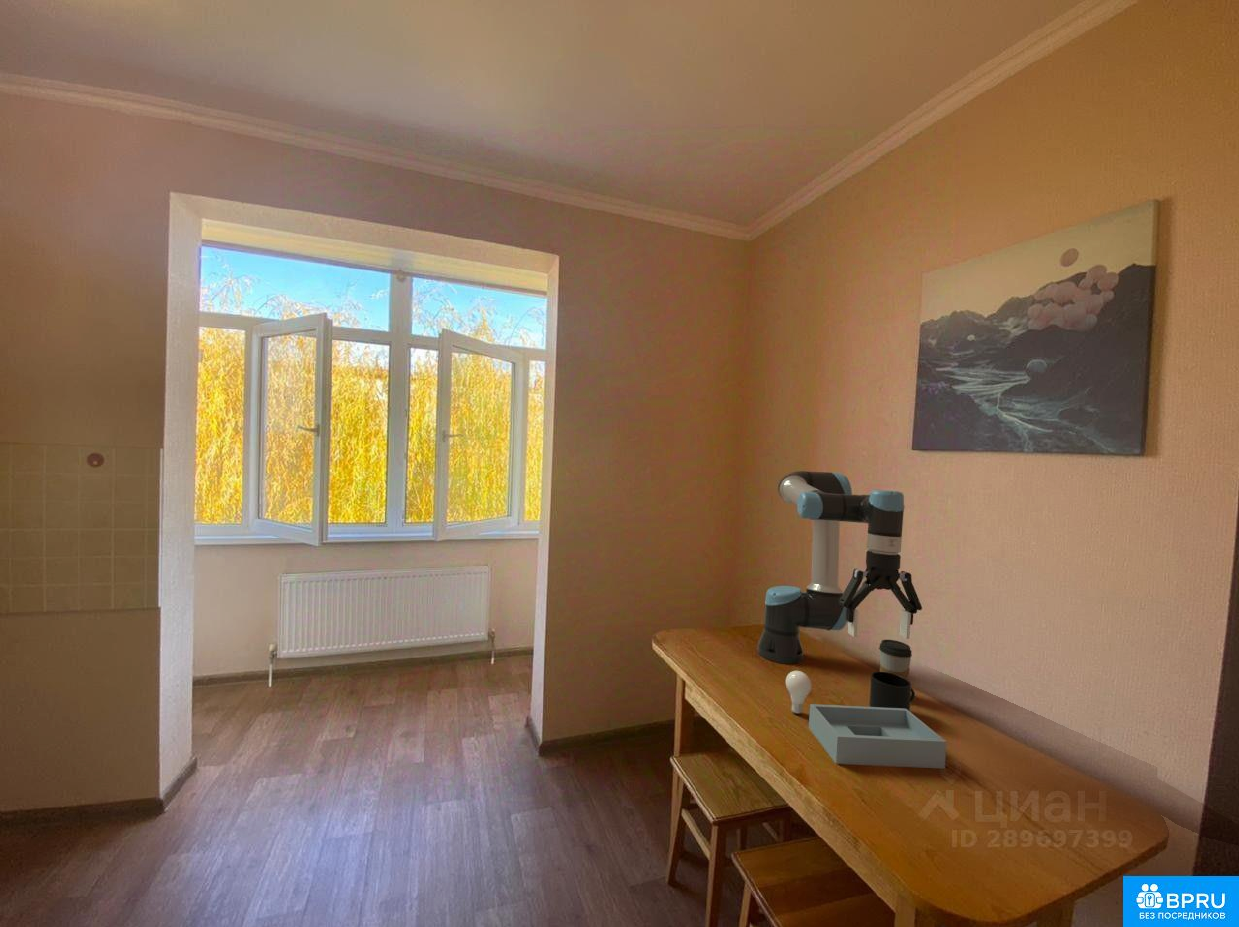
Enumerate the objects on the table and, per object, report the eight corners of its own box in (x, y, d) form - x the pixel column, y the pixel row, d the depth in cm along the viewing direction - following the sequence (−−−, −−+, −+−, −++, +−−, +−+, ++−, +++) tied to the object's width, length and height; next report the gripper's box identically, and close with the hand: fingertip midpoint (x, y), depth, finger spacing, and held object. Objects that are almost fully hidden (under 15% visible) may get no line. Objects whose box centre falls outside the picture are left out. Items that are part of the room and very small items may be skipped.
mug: (926, 721, 124) (928, 687, 124) (884, 721, 123) (886, 687, 123) (901, 703, 134) (903, 671, 134) (861, 703, 132) (863, 671, 132)
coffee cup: (903, 705, 133) (906, 652, 133) (871, 693, 139) (875, 642, 139) (913, 696, 138) (916, 645, 138) (882, 685, 144) (885, 636, 144)
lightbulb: (778, 708, 126) (781, 668, 126) (796, 705, 129) (799, 665, 129) (796, 721, 120) (798, 678, 120) (814, 717, 123) (817, 675, 123)
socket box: (808, 727, 118) (810, 704, 118) (904, 732, 118) (906, 708, 118) (835, 763, 104) (837, 736, 104) (944, 768, 104) (946, 741, 104)
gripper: (843, 552, 113) (838, 639, 113) (942, 557, 115) (936, 643, 115) (827, 546, 121) (822, 628, 121) (920, 551, 122) (915, 632, 122)
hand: (878, 636), depth 118 cm, fingers open, 13 cm apart
